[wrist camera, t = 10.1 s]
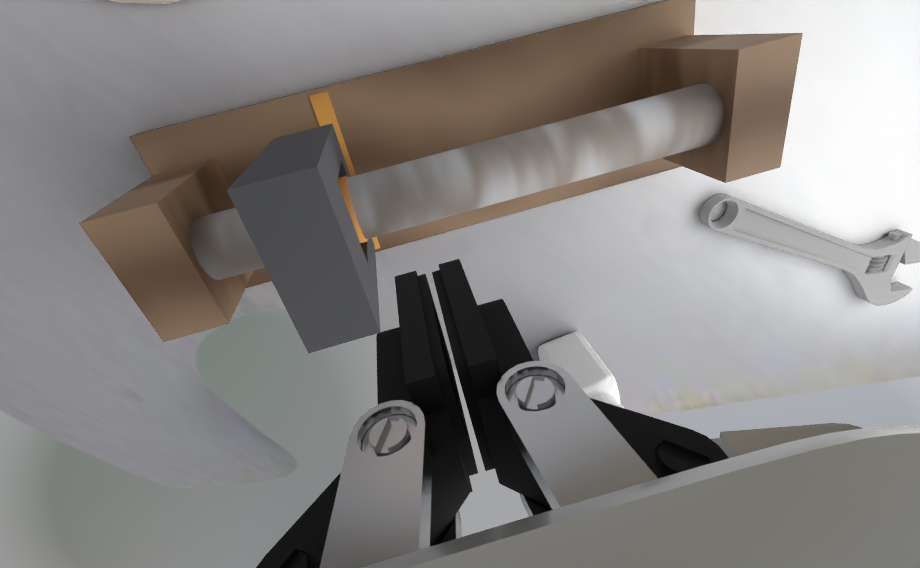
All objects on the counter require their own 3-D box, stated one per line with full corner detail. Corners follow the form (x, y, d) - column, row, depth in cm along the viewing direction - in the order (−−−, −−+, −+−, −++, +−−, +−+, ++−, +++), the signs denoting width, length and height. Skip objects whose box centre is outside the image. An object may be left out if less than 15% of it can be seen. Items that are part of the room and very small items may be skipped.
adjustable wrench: (687, 219, 34) (702, 227, 33) (739, 140, 32) (758, 145, 30) (872, 303, 43) (891, 312, 41) (924, 245, 40) (946, 253, 39)
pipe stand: (137, 133, 24) (30, 177, 16) (684, -5, 26) (822, -25, 18) (225, 287, 29) (176, 377, 21) (677, 161, 31) (782, 201, 23)
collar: (274, 138, 22) (226, 190, 14) (332, 123, 22) (316, 166, 14) (324, 259, 26) (308, 353, 18) (374, 245, 26) (380, 332, 18)
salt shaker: (578, 326, 36) (641, 408, 28) (586, 361, 38) (647, 446, 30) (533, 344, 36) (583, 431, 28) (544, 377, 38) (593, 468, 30)
